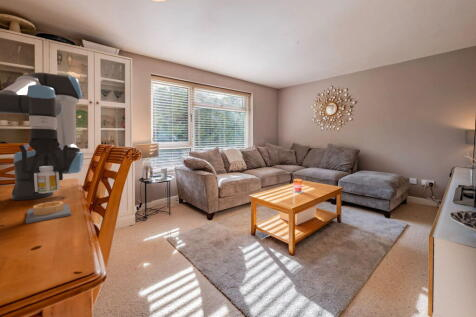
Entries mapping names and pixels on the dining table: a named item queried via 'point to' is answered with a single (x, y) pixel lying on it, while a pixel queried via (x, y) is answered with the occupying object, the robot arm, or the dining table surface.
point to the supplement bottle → (46, 180)
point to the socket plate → (47, 211)
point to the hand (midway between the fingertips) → (47, 189)
